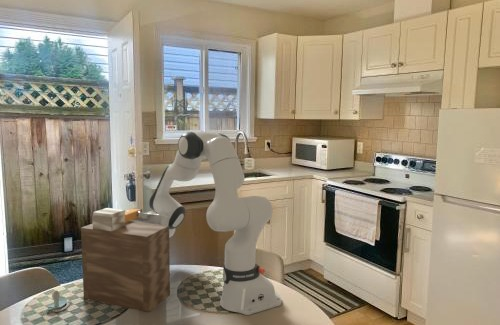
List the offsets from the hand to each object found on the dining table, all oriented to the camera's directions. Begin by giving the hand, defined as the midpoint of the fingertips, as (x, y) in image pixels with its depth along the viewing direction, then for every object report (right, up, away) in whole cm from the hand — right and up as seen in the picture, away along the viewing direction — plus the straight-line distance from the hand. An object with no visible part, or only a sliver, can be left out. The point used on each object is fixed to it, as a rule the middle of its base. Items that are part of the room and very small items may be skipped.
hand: (133, 213), depth 152 cm
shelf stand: (+1, -30, -8) cm, 31 cm away
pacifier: (-21, -31, -18) cm, 41 cm away
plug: (-2, -2, -5) cm, 6 cm away
